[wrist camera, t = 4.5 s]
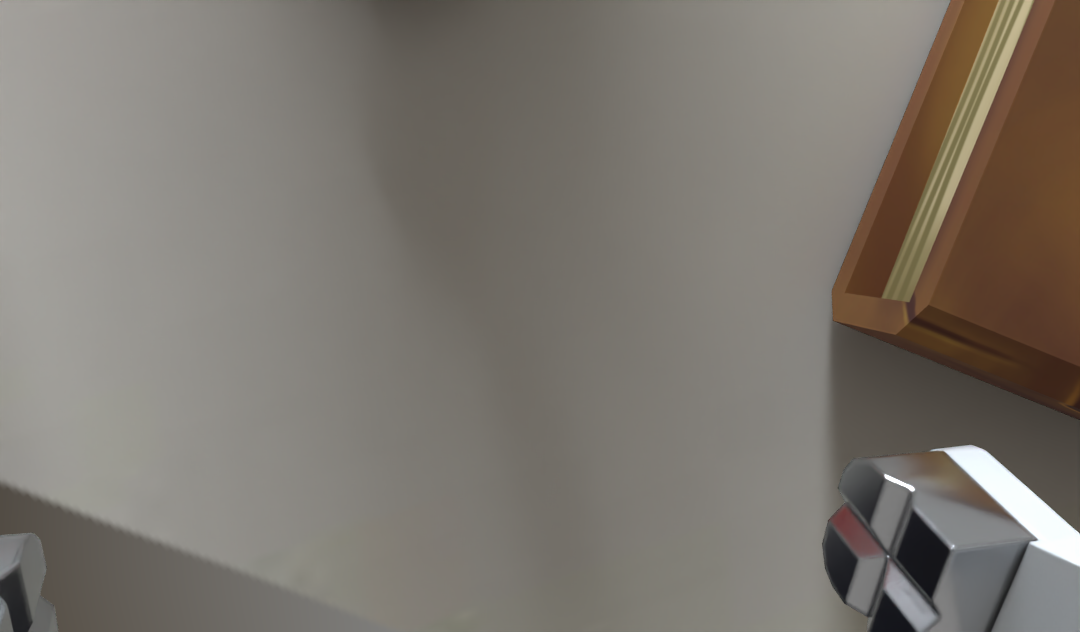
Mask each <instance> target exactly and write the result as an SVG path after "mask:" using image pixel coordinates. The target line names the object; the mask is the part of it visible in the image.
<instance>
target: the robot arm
mask: <svg viewBox="0 0 1080 632" xmlns="http://www.w3.org/2000/svg"><path fill="white" fill-rule="evenodd" d="M838 490H839V492H840V494H841V496H842V498H843V500H844V501H845V503H844V504H843V505H842V506H841V507H840V508H839V509H838V510H837V511H836V512H835V513H834V514H833V515H832V516H831V517H830V519H829V520H828V523H827V527H826V531H825V535H824V539H823V543H822V547H823V556H824V564H825V569H826V572H827V574H828V577H829V579H830V582H831V584H832V586H833V588H834V589H835V591H836V592H837V594H838V595H839V596H840V598H841V599H842V601H843V602H844V604H846V605H848V606H850V607H851V608H853V609H855V610H856V611H858V612H860V613H862V614H863V615H865V616H867V617H868V626H867V632H1080V534H1079V533H1078V532H1077V531H1076V530H1075V529H1074V528H1073V527H1072V526H1070V525H1069V524H1068V523H1067V522H1066V521H1065V520H1064V519H1063V518H1061V517H1060V516H1059V515H1058V514H1057V513H1056V512H1055V511H1054V510H1052V509H1051V508H1050V507H1049V506H1048V505H1047V504H1046V503H1045V502H1043V501H1042V500H1041V499H1040V498H1039V497H1038V496H1037V495H1036V494H1034V493H1033V492H1032V491H1031V490H1030V489H1029V488H1028V487H1027V486H1025V485H1024V484H1023V483H1022V482H1021V481H1020V480H1019V479H1018V478H1016V477H1015V476H1014V475H1013V474H1012V473H1011V472H1010V471H1009V470H1007V469H1006V468H1005V467H1004V466H1003V465H1002V464H1001V463H999V462H998V461H997V460H996V459H995V458H994V457H993V456H992V455H990V454H989V453H988V452H987V451H986V450H983V449H981V448H978V447H975V446H973V445H966V446H957V447H949V448H940V449H933V450H931V451H923V452H912V453H902V454H892V455H882V456H872V457H861V458H853V459H852V460H851V462H850V463H849V464H848V465H847V466H846V467H845V469H844V470H843V473H842V476H841V479H840V483H839V486H838ZM46 569H47V566H46V562H45V558H44V553H43V549H42V545H41V541H40V538H38V537H37V536H36V535H35V534H34V533H24V534H9V535H0V632H58V624H57V619H56V613H55V608H54V605H53V604H51V603H50V602H49V601H47V600H46V599H44V598H43V597H42V596H40V592H41V589H42V585H43V581H44V577H45V573H46Z"/></svg>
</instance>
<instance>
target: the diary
mask: <svg viewBox="0 0 1080 632" xmlns="http://www.w3.org/2000/svg"><path fill="white" fill-rule="evenodd" d="M832 308H833V321H835V322H837V323H840V324H842V325H845V326H847V327H850V328H852V329H855V330H857V331H860V332H862V333H865V334H867V335H870V336H872V337H875V338H877V339H880V340H882V341H885V342H887V343H890V344H892V345H895V346H897V347H900V348H902V349H905V350H907V351H910V352H912V353H915V354H917V355H920V356H922V357H925V358H927V359H930V360H932V361H934V362H937V363H939V364H942V365H944V366H947V367H949V368H952V369H954V370H957V371H959V372H962V373H964V374H967V375H969V376H972V377H974V378H977V379H979V380H982V381H984V382H987V383H989V384H992V385H994V386H997V387H999V388H1002V389H1004V390H1007V391H1009V392H1012V393H1014V394H1017V395H1019V396H1022V397H1024V398H1027V399H1029V400H1032V401H1034V402H1036V403H1039V404H1041V405H1044V406H1046V407H1049V408H1051V409H1054V410H1056V411H1059V412H1061V413H1064V414H1066V415H1069V416H1071V417H1074V418H1076V419H1079V420H1080V0H951V2H950V4H949V7H948V9H947V11H946V14H945V16H944V19H943V21H942V24H941V26H940V28H939V31H938V33H937V36H936V38H935V41H934V43H933V46H932V48H931V50H930V53H929V55H928V58H927V60H926V63H925V65H924V67H923V70H922V72H921V75H920V77H919V80H918V82H917V84H916V87H915V89H914V92H913V94H912V97H911V99H910V102H909V104H908V106H907V109H906V111H905V114H904V116H903V119H902V121H901V123H900V126H899V128H898V131H897V133H896V136H895V138H894V141H893V143H892V145H891V148H890V150H889V153H888V155H887V158H886V160H885V162H884V165H883V167H882V170H881V172H880V175H879V177H878V179H877V182H876V184H875V187H874V189H873V192H872V194H871V197H870V199H869V201H868V204H867V206H866V209H865V211H864V214H863V216H862V218H861V221H860V223H859V226H858V228H857V231H856V233H855V235H854V238H853V240H852V243H851V245H850V248H849V250H848V253H847V255H846V257H845V260H844V262H843V265H842V267H841V270H840V272H839V274H838V277H837V279H836V282H835V284H834V287H833V289H832Z"/></svg>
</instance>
